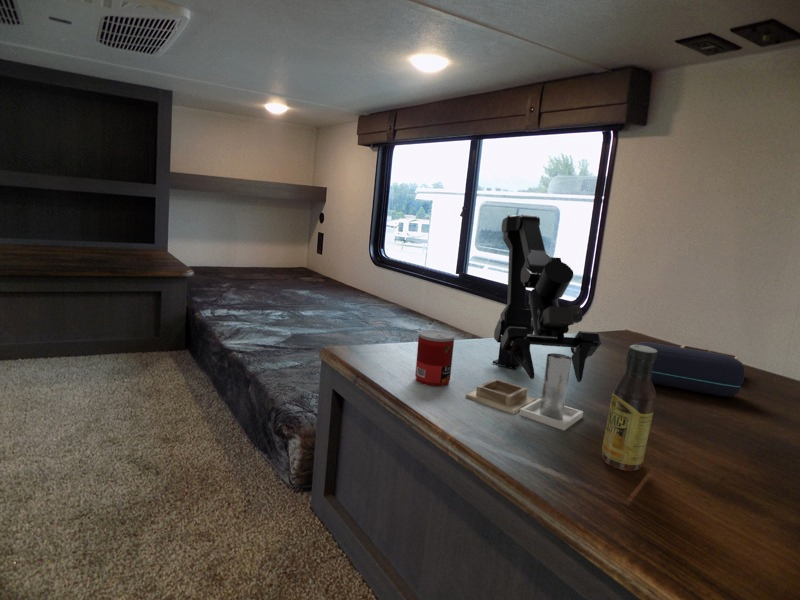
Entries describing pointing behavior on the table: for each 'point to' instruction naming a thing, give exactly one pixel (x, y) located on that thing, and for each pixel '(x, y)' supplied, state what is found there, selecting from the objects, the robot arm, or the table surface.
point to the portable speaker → (696, 370)
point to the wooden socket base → (501, 395)
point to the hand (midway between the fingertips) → (556, 379)
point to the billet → (555, 386)
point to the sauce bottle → (631, 411)
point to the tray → (568, 418)
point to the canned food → (434, 357)
